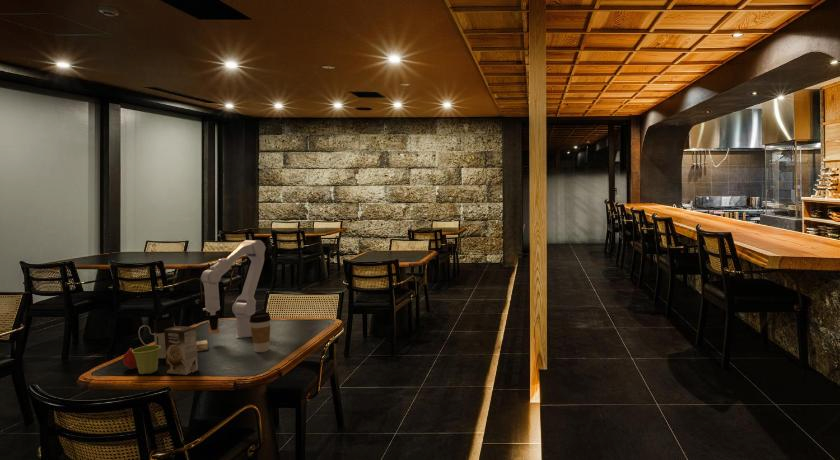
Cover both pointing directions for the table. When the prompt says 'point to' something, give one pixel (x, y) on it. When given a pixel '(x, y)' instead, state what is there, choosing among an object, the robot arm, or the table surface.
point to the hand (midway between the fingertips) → (214, 328)
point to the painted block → (213, 330)
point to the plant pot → (147, 358)
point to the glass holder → (160, 333)
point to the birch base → (202, 345)
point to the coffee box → (181, 350)
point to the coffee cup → (260, 331)
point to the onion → (129, 359)
